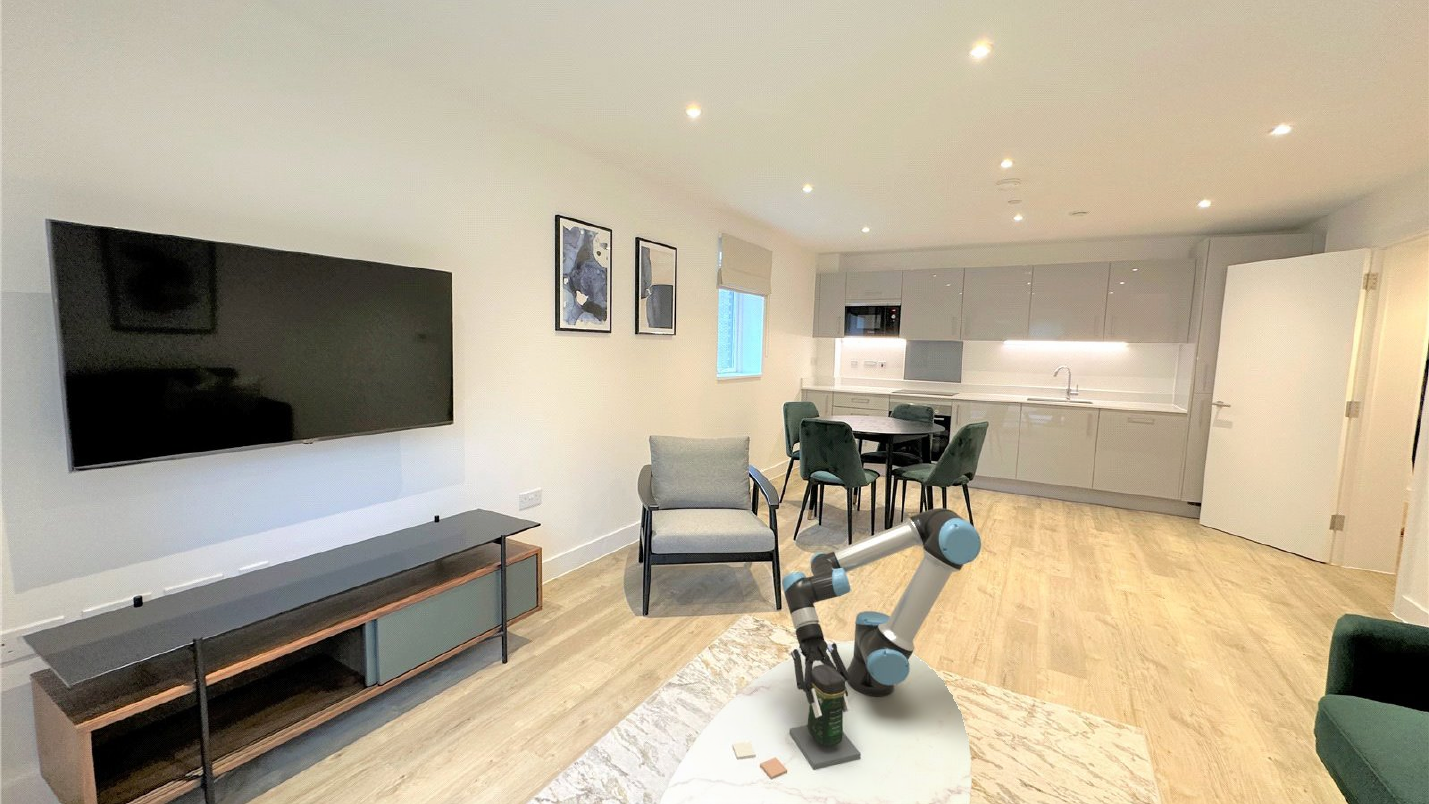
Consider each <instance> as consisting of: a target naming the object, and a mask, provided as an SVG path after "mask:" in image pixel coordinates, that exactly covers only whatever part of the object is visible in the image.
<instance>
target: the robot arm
mask: <svg viewBox="0 0 1429 804" xmlns="http://www.w3.org/2000/svg"><path fill="white" fill-rule="evenodd" d="M915 546H919V547H922V551H923V554H924V556H923V558H922V559H921V561H920V563H919V565H918V567H917V568H916V570H915V572H914V573H913V575H912V576H911V579H910V581H908V584H907V586H906V588H905V589H904V591H903V592H902V595H901V596H900V598H899V600H898V601H897V604H896V605H895V607H894V609H893V610H892V612H891V614H890V615H888V614H886V613H883V612H880V611H879V612H878V611H874V610H873V611H872V610H871V611H870V610H865V611H860V612H858V613H857V614H856V617H855V622H854V623H855V625H854V626H855V627H854V642H853V643H854V644H853V656H852V659H851V661H850V664H849V666H848V668H847V669H846V667H845V664H844V662H843V660H842V658H841V655H840V653H839V651H838V646H837V644H836V643H835V642H833V643H827V642H826V641H825V637H824V633H823V630H822V627H821V626H822V625H821V624H819V622H820V620H819V617H818V614H817V610H816V607H815V603H819V602H822V601H823V602H824V601H827V600H829V599H833V598H837V597H838V598H839V597H841V596H844V595H846V594H848V593H850V592H851V590H852V589H851V585H850V582H849V577H848V576H847V573H848V572H851V571H853V570H856V569H858V568H861V567H864V566H867V565H869V564H872V563H874V562H877V561H879V560H882V559H884V558H887V557H889V556H892V555H895V554H897V553H899V552H902V551H905V550H907V549H908V550H909V549H910V548H913V547H915ZM981 547H982V540H981V537H980V534H979V532H978V530H977V529H976V528H975V526H974V525H973V524H971V522H969V521H968V520H966V519H965V518H963V517H961V516H960V515H959V514H958V513H956V512H955V511H953V510H952V509H948V508H944V507H940V508H932V509H929V510H925V511H923V512H922V511H921V512H920V513H917V514H914V515H912V516H909V517H907V518H906V521H905V522H904V523H901V524H899V525H896V526H894V527H893V526H892V527H891V528H889V529H887V530H883V531H881V532H878V533H876V534H874V535H871V536H869V537H866V538H863V539H861V540H858V541H856V542H853V543H851V544H849V545H846V546H843V547H841V548H839V549H836V550H834V551H832V552H828V553H827V552H823V551H819V552H817V553H815V554H814V555H812V557H811V559H810V570H811V573H812V574H813V575H811V576H808V577H807V576H806V575H805V573H804V572H802V571H797V572H791V573H789V574H787V575H785V576H784V577H783V578H782V579H781V584H782V589H783V594H784V597H785V600H786V604H787V607H788V611H789V614H790V617H791V621H792V624H793V628H794V629H795V635H796V639H797V642H798V644H799V646H798V647H799V648H797V649H796V648H795V649H793V650H792V651H791V653H790V655H791V656H792V661H793V665H794V666H793V667H794V673H795V674H794V675H795V678H796V679H795V681H796V688H797V690H802V691H803V692H804V693H805V696H806V699H807V702H808V704H809V705H810V704H812V707H813V711H814V714H815V718H818V717H820V716H822V713H821V710H820V706H819V703H818V699H817V696H816V692H815V689H811V683H812V679H811V671H812V669H813V668H814V666H813V664H814V662H821V664H827V665H828V666H830V667H832V668H833V669H835V670H836V671H837V672H838V673H840V674H841V675H842V676H843V677H844V679H845V683H846V682H847V683H848V684H849V686H850V687H851V688H852V689H854V690H855V691H857V692H858V693H861V694H864V695H867V696H871V697H884V696H887V695H890V694H891V693H892V692H893V691H894V690H895V685H898V684H900V683H902V682H904V681H905V680H906V679H907V678H908V676H909V675H910V674H909V673H910V669H911V668H910V661H909V660H910V658H911V656H912V654H913V652H914V650H915V649H916V648H915V644H914V639H915V638H916V635H917V634H918V632H919V631H920V629H921V627H922V625H923V623H924V622H925V620H926V618H927V617H928V616H929V614H930V611H931V609H932V608H933V606H934V604H935V603H936V601H937V599H938V598H939V596H940V594H941V592H942V591H943V590H944V587H945V586H946V584H947V582H948V581H949V579H950V577H951V575H952V574H953V573H956V572H960V571H961V569H962V568H963V566H964V565H966V564H969V563H972V562H974V560H975V559H977V557H978V556H979V554H980V552H981V549H982V548H981ZM827 651H828V652H829V653H830V656H831V657H830V656H829V654H828V653H827ZM801 656H803V657H804V658H805V659H804V666H805V667H804V670H803V664H802V663H803V662H802V657H801ZM831 659H832V660H831ZM846 686H847V685H845V694H844V697H843V713H846V712H849V711H850V710H851V707H850V703H849V701H848V696H849V692H848V689H847V687H846Z"/></svg>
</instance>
